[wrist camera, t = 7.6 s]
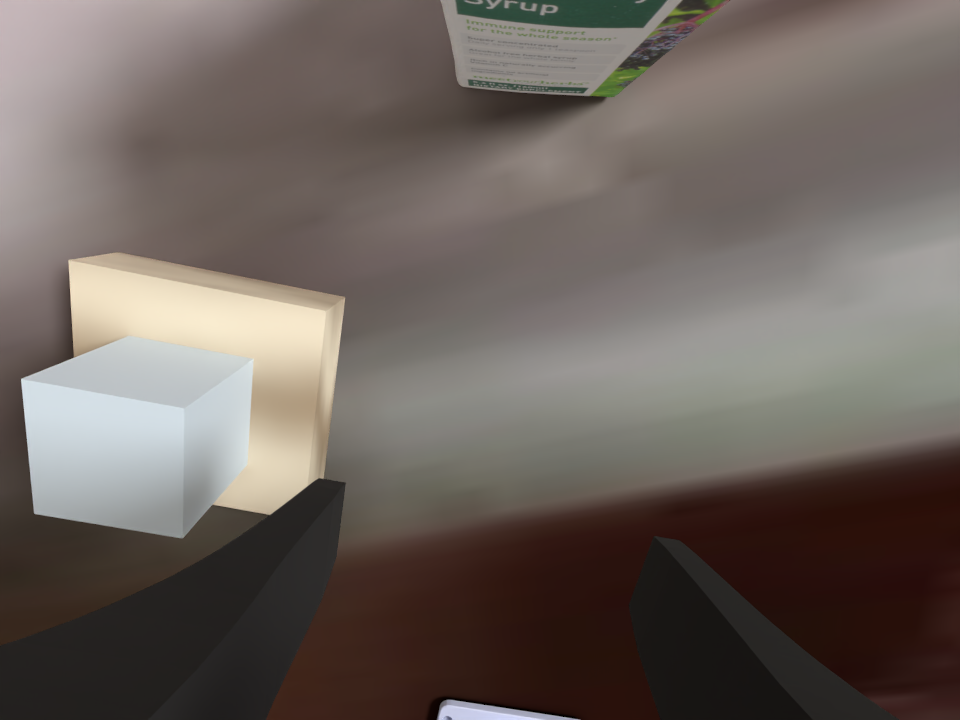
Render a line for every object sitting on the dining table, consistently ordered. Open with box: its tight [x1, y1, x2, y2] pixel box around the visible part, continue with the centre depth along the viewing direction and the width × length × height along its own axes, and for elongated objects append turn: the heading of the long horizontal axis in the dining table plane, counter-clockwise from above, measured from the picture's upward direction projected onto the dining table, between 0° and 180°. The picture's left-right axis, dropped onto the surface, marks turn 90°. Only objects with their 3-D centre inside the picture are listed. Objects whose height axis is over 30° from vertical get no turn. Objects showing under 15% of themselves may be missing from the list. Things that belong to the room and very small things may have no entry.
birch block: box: [69, 252, 345, 515], centre depth 21 cm, size 9×9×3 cm
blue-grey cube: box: [21, 336, 254, 538], centre depth 17 cm, size 4×4×4 cm
